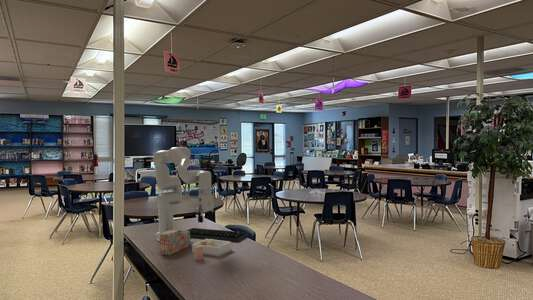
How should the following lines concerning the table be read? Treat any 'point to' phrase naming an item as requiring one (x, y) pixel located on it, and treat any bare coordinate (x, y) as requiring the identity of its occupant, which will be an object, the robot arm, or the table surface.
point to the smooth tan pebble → (198, 253)
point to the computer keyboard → (217, 234)
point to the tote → (214, 248)
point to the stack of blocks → (174, 241)
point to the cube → (206, 242)
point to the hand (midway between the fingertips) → (205, 220)
